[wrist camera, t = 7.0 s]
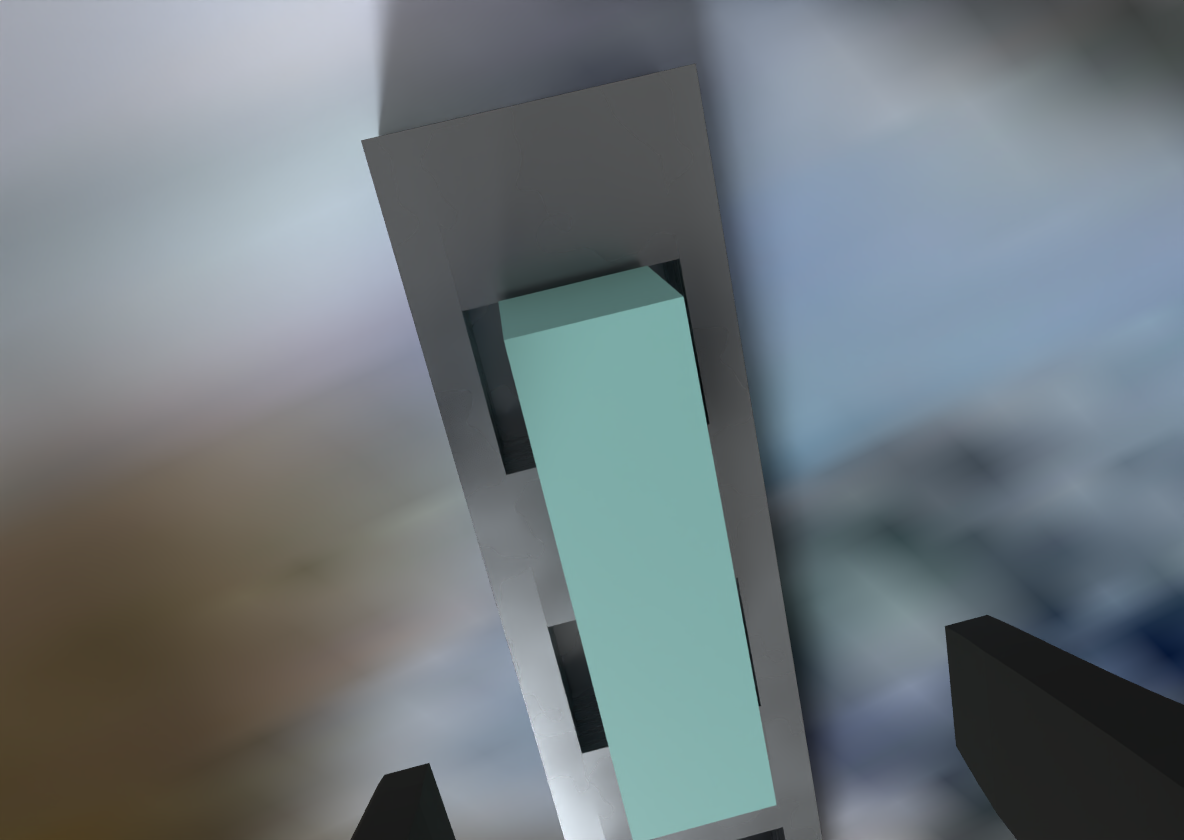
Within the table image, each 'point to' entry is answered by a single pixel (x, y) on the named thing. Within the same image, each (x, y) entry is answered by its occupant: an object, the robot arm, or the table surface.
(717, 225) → the rail
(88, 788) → the table surface
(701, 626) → the teal rectangular block
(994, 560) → the table surface
